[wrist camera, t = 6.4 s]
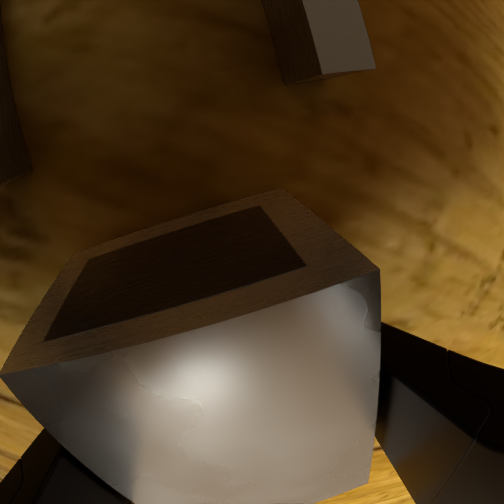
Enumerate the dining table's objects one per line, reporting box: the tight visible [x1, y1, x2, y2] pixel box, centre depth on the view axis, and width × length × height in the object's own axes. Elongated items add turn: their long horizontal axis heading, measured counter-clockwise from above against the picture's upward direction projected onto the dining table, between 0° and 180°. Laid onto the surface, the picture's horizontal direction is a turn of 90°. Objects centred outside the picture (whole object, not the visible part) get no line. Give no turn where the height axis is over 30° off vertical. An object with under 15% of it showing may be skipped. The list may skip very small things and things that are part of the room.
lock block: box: [0, 188, 381, 504], centre depth 7 cm, size 7×6×4 cm
